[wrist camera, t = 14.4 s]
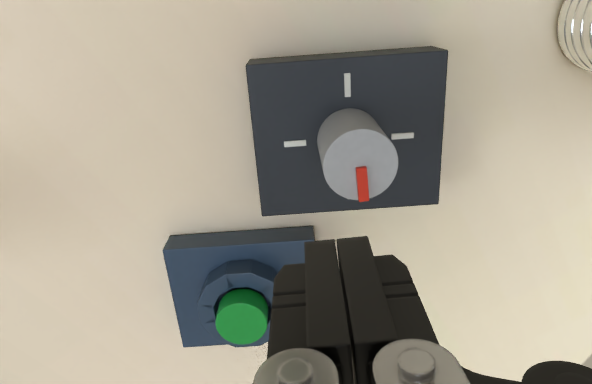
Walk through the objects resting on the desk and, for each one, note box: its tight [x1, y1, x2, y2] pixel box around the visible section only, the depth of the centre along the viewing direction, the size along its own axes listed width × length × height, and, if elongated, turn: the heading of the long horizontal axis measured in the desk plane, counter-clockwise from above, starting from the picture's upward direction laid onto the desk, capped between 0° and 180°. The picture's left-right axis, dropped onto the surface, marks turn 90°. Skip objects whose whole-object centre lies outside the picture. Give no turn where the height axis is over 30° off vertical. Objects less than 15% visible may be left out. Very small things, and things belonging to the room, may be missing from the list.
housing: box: [163, 226, 315, 347], centre depth 34 cm, size 11×9×4 cm
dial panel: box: [246, 46, 448, 216], centre depth 29 cm, size 12×10×3 cm
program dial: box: [317, 108, 398, 202], centre depth 25 cm, size 4×4×5 cm
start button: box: [215, 289, 268, 344], centre depth 31 cm, size 4×4×2 cm
